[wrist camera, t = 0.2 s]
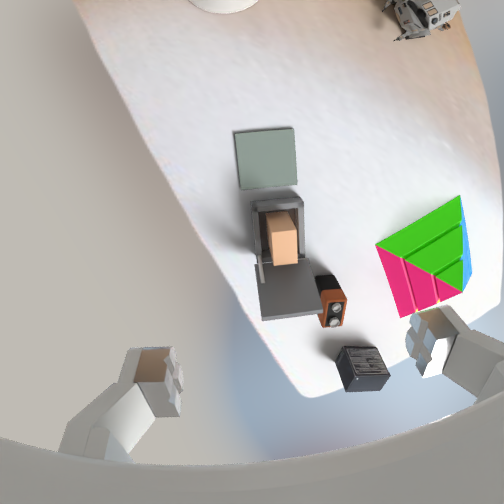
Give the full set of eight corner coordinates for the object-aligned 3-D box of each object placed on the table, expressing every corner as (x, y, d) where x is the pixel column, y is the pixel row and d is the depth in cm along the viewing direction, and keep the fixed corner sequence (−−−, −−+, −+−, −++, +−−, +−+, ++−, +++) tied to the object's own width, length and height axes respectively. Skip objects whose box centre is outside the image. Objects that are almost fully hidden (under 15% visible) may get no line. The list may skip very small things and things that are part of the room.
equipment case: (247, 202, 57) (253, 235, 44) (302, 196, 57) (325, 228, 44) (255, 274, 64) (262, 322, 50) (304, 268, 64) (323, 313, 51)
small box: (333, 363, 78) (344, 393, 68) (342, 345, 75) (355, 375, 66) (367, 364, 79) (380, 392, 70) (377, 346, 77) (391, 375, 67)
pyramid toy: (472, 272, 69) (503, 301, 57) (397, 319, 74) (421, 357, 61) (459, 190, 59) (500, 214, 46) (370, 242, 63) (400, 277, 50)
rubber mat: (234, 133, 51) (235, 134, 51) (293, 128, 51) (294, 129, 51) (240, 189, 56) (240, 190, 55) (296, 183, 56) (297, 184, 55)
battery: (311, 301, 68) (322, 331, 59) (314, 275, 65) (327, 303, 56) (330, 300, 68) (344, 329, 59) (334, 273, 65) (349, 301, 56)
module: (265, 213, 58) (271, 232, 50) (287, 210, 58) (296, 229, 50) (267, 242, 61) (273, 265, 53) (288, 240, 61) (297, 263, 53)
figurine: (363, 2, 41) (401, -21, 27) (411, -3, 39) (455, -20, 26) (381, 45, 45) (425, 34, 31) (427, 37, 43) (475, 30, 30)
